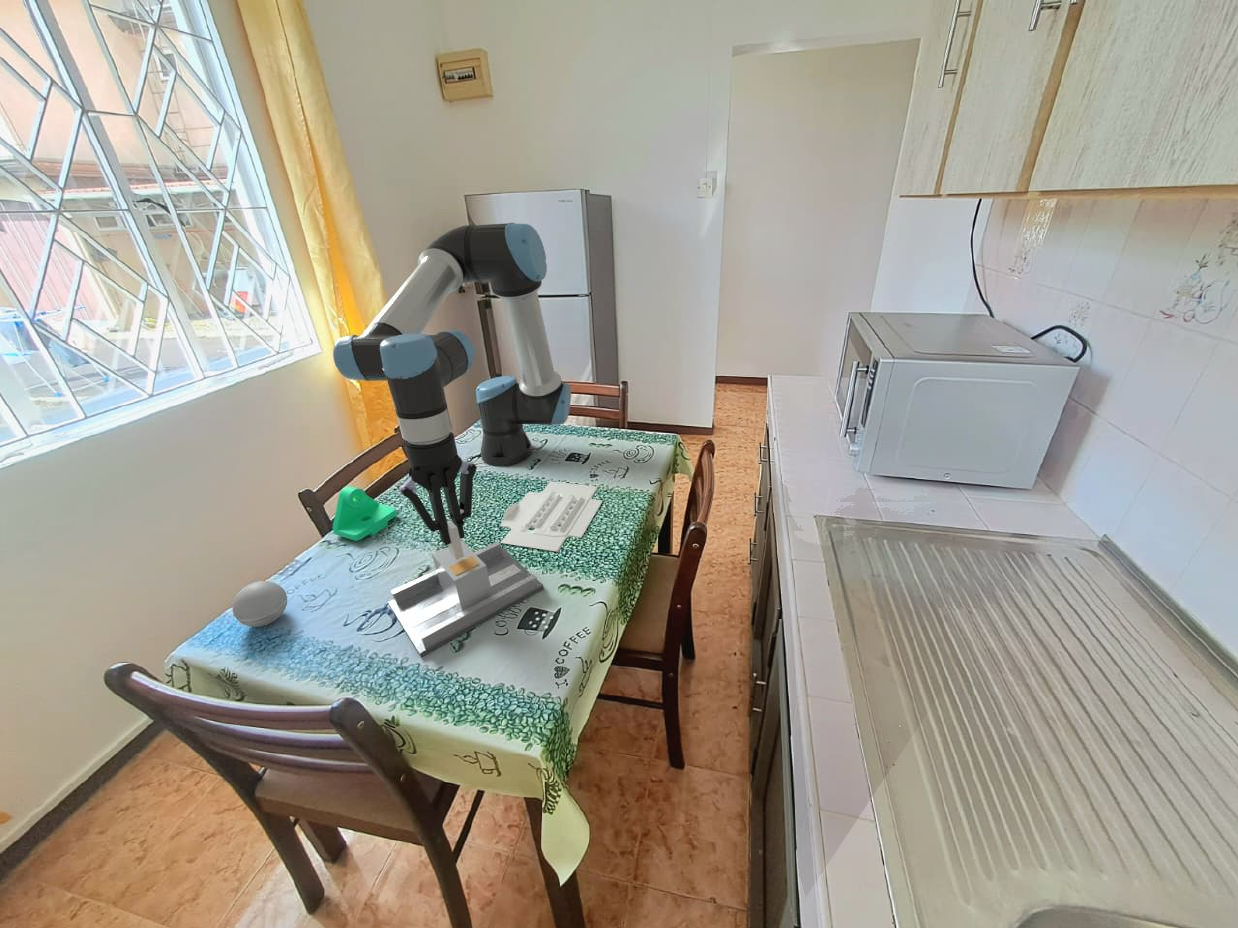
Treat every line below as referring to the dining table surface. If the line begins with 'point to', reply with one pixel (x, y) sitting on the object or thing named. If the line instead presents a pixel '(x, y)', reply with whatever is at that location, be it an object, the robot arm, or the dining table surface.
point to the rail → (437, 616)
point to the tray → (550, 516)
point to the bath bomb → (259, 603)
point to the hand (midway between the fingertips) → (457, 554)
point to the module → (462, 577)
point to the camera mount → (360, 514)
